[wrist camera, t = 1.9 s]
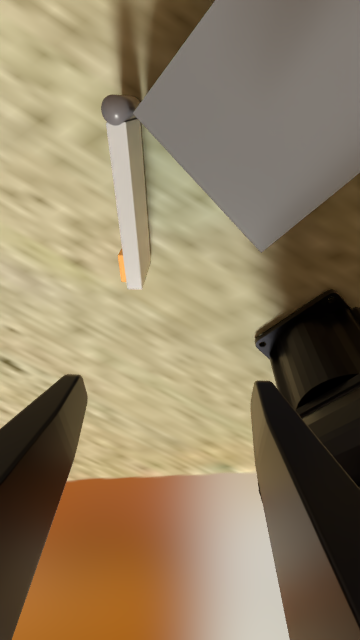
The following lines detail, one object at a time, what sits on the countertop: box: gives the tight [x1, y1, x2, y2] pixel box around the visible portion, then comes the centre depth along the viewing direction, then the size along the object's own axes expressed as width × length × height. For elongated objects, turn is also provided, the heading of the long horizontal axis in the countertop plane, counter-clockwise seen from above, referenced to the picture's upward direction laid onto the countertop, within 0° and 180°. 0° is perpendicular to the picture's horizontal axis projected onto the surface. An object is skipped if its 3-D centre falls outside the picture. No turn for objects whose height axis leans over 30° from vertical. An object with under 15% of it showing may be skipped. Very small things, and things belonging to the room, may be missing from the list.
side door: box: [101, 95, 151, 289], centre depth 16 cm, size 2×9×4 cm, turn 1°
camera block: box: [133, 0, 360, 252], centre depth 12 cm, size 10×9×5 cm
